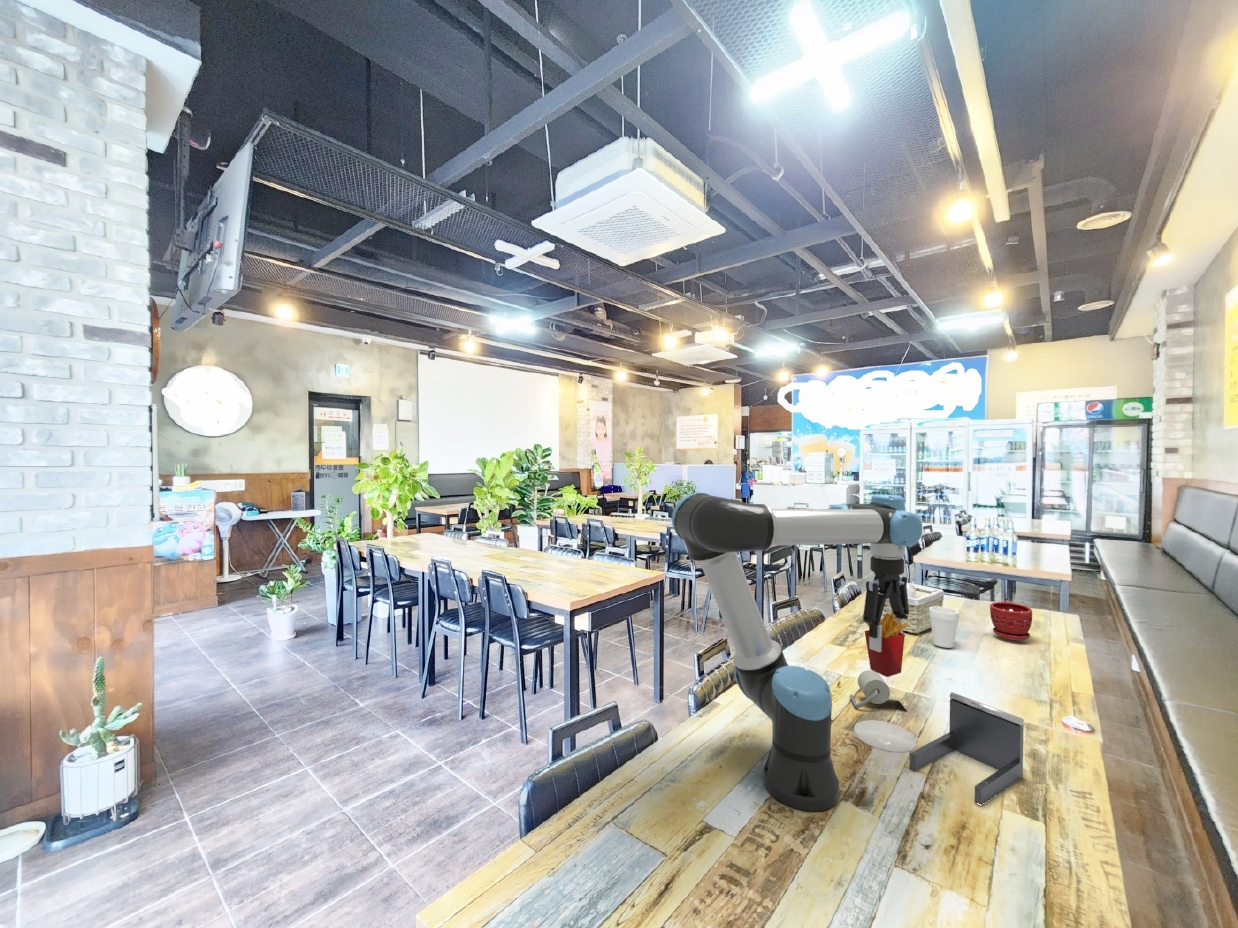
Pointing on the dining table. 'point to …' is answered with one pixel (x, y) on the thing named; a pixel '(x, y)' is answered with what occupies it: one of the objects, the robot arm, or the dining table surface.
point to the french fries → (888, 647)
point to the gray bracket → (979, 744)
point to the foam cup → (943, 625)
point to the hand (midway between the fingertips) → (886, 646)
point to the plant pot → (1011, 620)
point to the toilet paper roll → (872, 688)
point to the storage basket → (918, 607)
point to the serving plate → (885, 736)
